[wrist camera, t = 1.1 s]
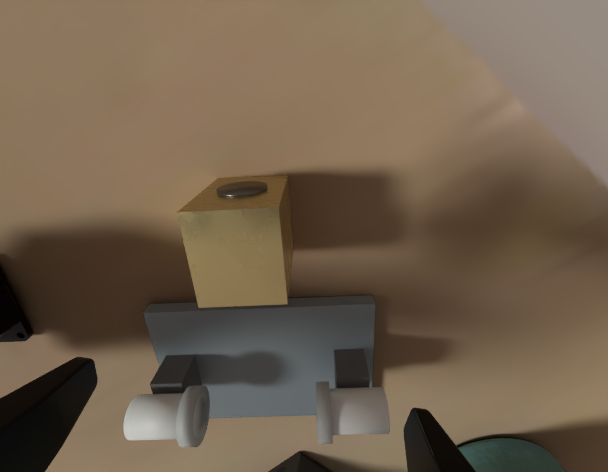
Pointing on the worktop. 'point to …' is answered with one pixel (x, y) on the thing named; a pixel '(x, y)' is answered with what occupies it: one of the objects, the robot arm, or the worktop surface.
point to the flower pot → (509, 456)
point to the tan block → (240, 241)
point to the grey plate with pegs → (261, 368)
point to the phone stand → (299, 465)
